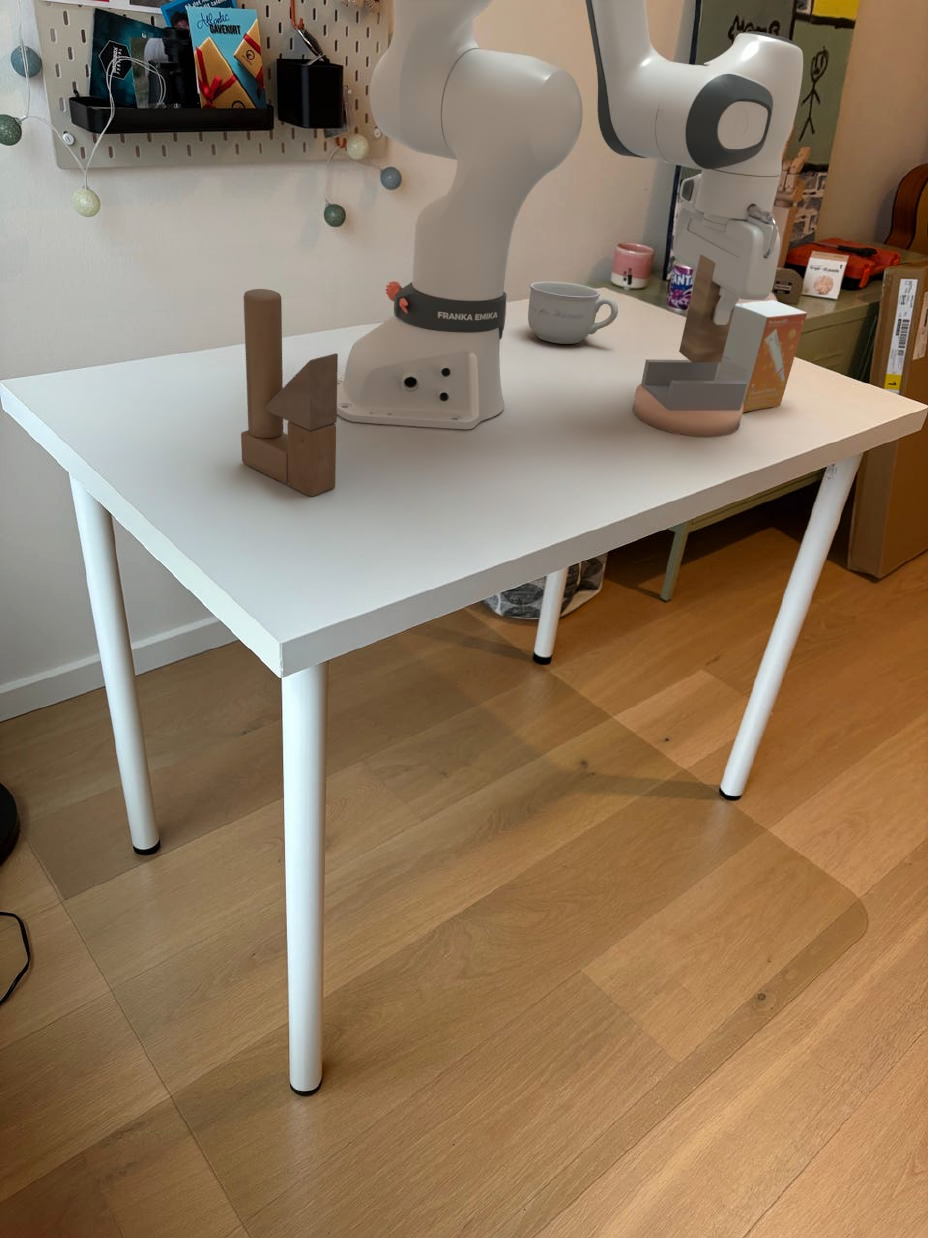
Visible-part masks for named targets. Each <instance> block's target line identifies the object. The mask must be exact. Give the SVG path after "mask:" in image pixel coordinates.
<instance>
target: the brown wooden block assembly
mask: <svg viewBox="0 0 928 1238" xmlns="http://www.w3.org/2000/svg"><path fill="white" fill-rule="evenodd" d="M282 305H283V304H282V295H281V294H280V293H279V292H277V291H275V290H272V289H267V288H264V289H263V288H253V289H249V290H246V291H245V292H244V294H243V315H244V317H243V318H244V319H243V321H244V345H245V346H244V347H245V348H244V349H245V369H246V370H245V373H246V374H245V375H246V397H247V398H246V401H247V427H248V428H247V429H248V430H244V431H242V432H241V433H240V440H241V441H240V443H241V461H242V464H245V465H246V466H248V467H250V468H252V469H254V470H256V471H259V472H261V473H262V474H264V475H267V476H269V477H270V478H272V479H275V480H276V481H279V482H281V483H282V484H285V485H288V486H289V487H290V488H292V489H294V490H296V491H297V492H300V493H302V494H305V495H306V496H308V497H315V496H317V495H320V494H322V493H325V492H328V491H329V490H332V489H335V487H336V466H337V465H336V459H337V424H336V423H337V421H338V419H337V415H338V414H337V376H338V364H339V363H338V357H339V356H338V355H339V354H338V353H332V354H328V355H324V356H319V357H316V358H312V359H310V360H309V361H307V363H306V364H305V365H304V366H303V367H302V368H301V369H300V370H299V371H298V372H297V373H296V374H295V375H294V376H293V377H292V378H291V379H290V380H289V381H288V382H287V383H286V384H285V385H284V384H283V383H284V381H283V380H284V379H283V374H284V373H283V334H282V333H283V322H282V321H283V318H282V316H283V314H282V312H283V311H282V309H283V308H282ZM284 420H285V421H288V422H287V425H286V426H287V433H285V432H284Z"/></svg>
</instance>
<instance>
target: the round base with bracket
mask: <svg viewBox="0 0 928 1238" xmlns="http://www.w3.org/2000/svg"><path fill="white" fill-rule="evenodd" d="M717 367H718V363H704V362H691V361H690V360H689V359H652V358H651V359H650V358H649V359H645V363H644V368H643V373H642V378H641V382H640V384H638V385H637V386H636V389H635V392H634V399H633V404H632V412H633V414H634V413H635V414H634V415H635V416H636V417H637V418H638V419H639V420H641V421H642V422H644V423H646V424H648V425H650V426H651V427H654V428H656V429H660V430H662V431H665V432H669V433H673V434H677V435H678V434H679V435H684V436H691V437H702V438H705V437H706V438H715V437H722V436H727V435H731V434H732V433H735V432H736V431H737V430H738V429H739V427H740V425H741V424H740V423H741V419H742V416H743V413H744V412H743V409H744V405H743V403H742V401H743V397H744V393H745V389H746V385H747V384H746V383H745V382H744V381H714V379H715V375H716V371H717Z"/></svg>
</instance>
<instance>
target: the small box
mask: <svg viewBox="0 0 928 1238" xmlns="http://www.w3.org/2000/svg"><path fill="white" fill-rule="evenodd" d="M807 315H808V312H806V311H804V310H801V309H799V308H797V307H794V306H791V305H788V304H785V303H782V302H779V301H777V300H775V299H771V300H770V299H769V300H755V301H749V302H743V303H736V305H735V308H734V312H733V316H732V320H731V324H730V328H729V332H728V336H727V340H726V345H725V349H724V353H723V357H722V361H721V363H718V367H717V371H716V375H715V379H714V381H744V382H745V383H746V384H747V385H746V389H745V393H744V397H743V401H742V403H743V405H744V409H743V413H745V412H751V411H756V410H757V411H758V410H762V409H768V408H773V407H774V408H775V407H776V408H777V407H780V406H781V404H782V401H783V398H784V394H785V390H786V387H787V385H788V380H789V376H790V374H791V371H792V367H793V364H794V360H795V357H796V353H797V351H798V346H799V343H800V339H801V335H802V333H803V329H804V326H805V322H806V319H807Z"/></svg>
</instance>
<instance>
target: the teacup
mask: <svg viewBox="0 0 928 1238" xmlns="http://www.w3.org/2000/svg"><path fill="white" fill-rule="evenodd" d="M529 287H530V294H529V301H528V309H527V311H528V312H527V321H528V322H527V323H528V326H529V327H530V329H531V330H532V332H534V333H535V335H536V337H538V339H540V340H543V341H545V342H550V343H553V344H559V345H561V344H562V345H572V344H577V343H580V342H581V341H582V340H583V339H585V338H586V337H588V336H589V335H594V334H596V332H597V331H599V330H600V329H603V328H605V327H608V326H609V325H611V324H613V322H614V321H615V320H616V318H617V317H618V313H619V308H618V303H617V301H615V300H614V299H613V298H611V297H608V296H607V297H606V296H605V297H601V298H600V296H601V292H600V291H599V290H598V289H595V288H594V287H591V286H586V285H584V284H579V283H572V282H566V281H565V282H564V281H553V280H551V281H549V280H548V281H537V282H532V283H531V284H530V285H529ZM603 305H608V306H609V308H610V315H608V317H607V318H606V319H604V320H602V321H600V322H596V323H595V321H596V317H597V313H599V310H600V308H601V307H602V306H603Z"/></svg>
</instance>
